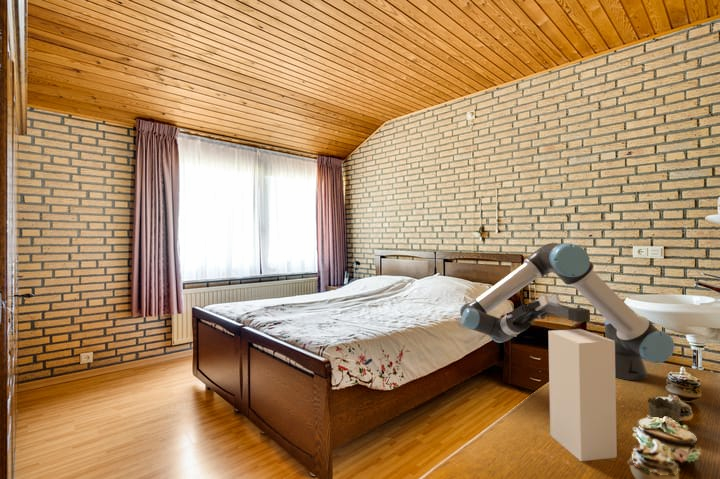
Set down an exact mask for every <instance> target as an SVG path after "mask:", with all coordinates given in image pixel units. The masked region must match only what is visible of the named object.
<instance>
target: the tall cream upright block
mask: <svg viewBox="0 0 720 479" xmlns="http://www.w3.org/2000/svg"><path fill="white" fill-rule="evenodd" d="M547 335H548V374H549V376H548V377H549V378H548V380H549V386H548V387H549V389H548V390H549V429H550V430H549V435H550V437H552V438H553V439H554V440H555V441H556V442H557V443H558V444H560V446H562V447H563V448H565V450H567V451H569V453H570V454H572V455H573V456H574V457H575V458H576V459H577V460H578V461H580V462H587V461H597V460H598V461H599V460H606V459H613V458H617V456H618V455H617V454H618V451H617V449H618V448H617V447H618V445H617V444H618V443H617V400H616V399H617V397H616V396H617V394H616V393H617V391H616V390H617V389H616V384H617V383H616V377H615V341H614V340H611V339H608V338H606V336H605V337H604V336H601V335H599V334H596V333H593V332H590V331H587V330H584V329H582V328H574V329H559V330H557V329H556V330H548V334H547Z"/></svg>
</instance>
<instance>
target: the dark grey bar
mask: <svg viewBox="0 0 720 479" xmlns="http://www.w3.org/2000/svg"><path fill="white" fill-rule="evenodd" d="M536 300H537V299H532V302H531V303H533V302H534V301H536ZM540 310H542V311H545V312H548V313H550V314H551V315H555V316H558V317H562V318H563V319H564V318H565V319H568V321H572V322H575V323H581V322H590V321H591V310H590V309H589V308H584V307H571V306H567V305H563V304H561V303H560V304H556V303H553V302H549V304H548V305H546V306H544V307H543V308H541V309H540Z"/></svg>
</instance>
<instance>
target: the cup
mask: <svg viewBox="0 0 720 479" xmlns="http://www.w3.org/2000/svg"><path fill="white" fill-rule="evenodd" d="M647 403H648V404H647V405H648V411H649V415H650V418H651V417H659V418H663V417H664V416H668V417H670V418H672V419H673V420H675V421H676V422H678V424H679V422H680V418H681V411H682V410H681V409H682V406H681V404H680V403H677V401H673V402H670V401H669V399H668V398H665V399H664V398H662V397H660V396H659V397H657V398H656V397H655V396H653V397H648V398H647Z"/></svg>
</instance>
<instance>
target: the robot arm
mask: <svg viewBox="0 0 720 479" xmlns="http://www.w3.org/2000/svg"><path fill="white" fill-rule="evenodd" d="M590 259H591V258H590V256H589V254H588V252H587V251H586V250H585V249H584V248H583V247H581V246H579V245H576V244H573V243H566V242H565V243H561V242H559V243H557V242H551V243H547V244H544V245H542V246H541V247H539V248H538V249H537V250H535V251H534V252H532V253H531V254H530V255H529V256H527V257H526V258H524V260H523V263H522V264H521V265H519V266H518V267H516V268H515V269H514V270H512V271H511V272H510V273H509V274H507V275H506V276H505V277H503V278H502V279H500V280H499V281H498V282H497V283H495V284H494V285H493V286H491V287H489V288H488V289H487V290H485V291H484V292H483V293H481V294H480V295H478V297H476V298H475V299H473V300H472V301H470V302H467V303H466V302H465V303H464V304H462V305H461V306H460V309H459V314H460V317H461V320H460V324H461V326H463V327H464V328H467V329H468V330H471V331H475V332H477V333H481V334H484V335H487V336H489V337H490V339H492V341H494V342H495V343H499V344H500V343H504V342H508V341H509V340H511V339H513V338H514V337H516V338H517V335H519V334H520V333H522V332H525V331H526V330H528V329H529V328H530V327H531V324H532V322H534V321H535V320H536V319H538V318H539V319H540V320H544V319H545V318H546V317H547V316H549V315H550V314H551V313H548V312H545V311H542V310H540V309H541V308H543V307H544V306H546V305H548V304H549V302H553V303H556V304H560V305H561V303H562V302H561V299H560V297H559V294H558V293H557V294H556V293H555V294H554V295H552V296H550V297H548V295H547V294H543V295H542V296H540V297H539V298H537V299H535V300H536V301H534V302H529V303H528V304H527V303H524V304H522V305H520V306H518V307H516V308H515V309H513V310H512V311H509V312H507V313H506V314H505V315H504V316H503V317H501V318H500V317H497V316H494V315H491V314H489V313H490V312H492V311H494V309H496V308H497V307H499V306H500V305H501V304H503V303H504V302H506V301H507V300H508V299H510V298H511V297H513V296H514V295H515V294H517V293H518V292H519V291H521V290H522V289H523V288H525V287H526V286H527V285H529V284H531V283H532V282H533V281H534V280H536V279H542V278H543V277H545V276H546V275H548V274H550V273H553V274H554V275H556V276H557V277H558V278H559V279H560V280H561V281H562V282H563V283H564V284H565V285H566V286H573V288H575V289H576V290H577V291H578V292H579V293H580V294H581V295H582V296H583V297H584V299H586V300H587V301H588V302H589V303H590V304H591V305H592V306H593V307H594V308H595V310H596V311H597V312H599V313H600V314H601V316H603V318H604V319H605V322H604V327H605V328H604V329H605V330H604V333H605V338H608V339H611V340H614V341H615V378H617V379H623V380H627V381H644V380H646V379H648V370H647V368H646V365H645V363H644V361H645V362H649V363H653V364H661V363H664V362H666V361H668V360H669V359H670V357H672V355H673V354H674V349H675V342H674V339H673V338H672V336H671V335H669V334H668V333H666V332H665V331H664V330H663V331H662V330H659V329H658V328H657V327H656V326H655V325H654V324H653V323H652V322H651V321H650V320H649V319H647V318H646V317H644V316H639V315H638V314H636V313H635V312H634V310H633V309H632V308H631V307H629V305H627V303H626V302H625V301H624V300H623V299H622V298H621V297H620V296H618V294H616V292H615V291H614V290H613V289H612V288H611V287H610V286H609V285H608V284H607V283H606V282H605V281H604V280H603V279H602V278H601V277H600V276H599V275H598V274H597V273H596V272H595V271H594V265H595V264H593V263H592V262H591V261H590ZM643 360H644V361H643Z"/></svg>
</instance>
